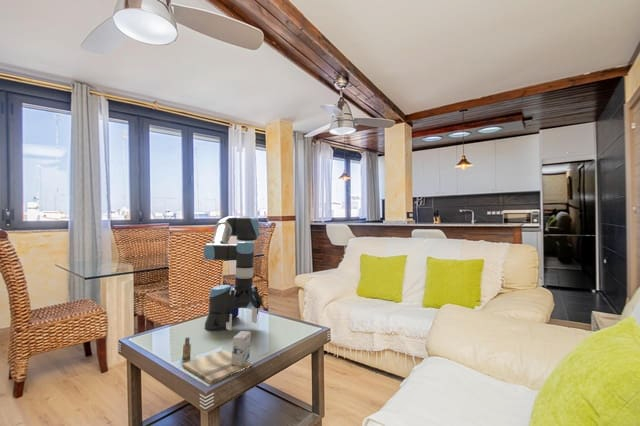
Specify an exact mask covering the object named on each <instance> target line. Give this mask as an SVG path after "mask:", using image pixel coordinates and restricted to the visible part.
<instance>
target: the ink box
mask: <svg viewBox="0 0 640 426" xmlns="http://www.w3.org/2000/svg"><path fill="white" fill-rule="evenodd" d="M251 337H252V332H251V331H244V330H240V331H239V332H238V333H237V334H236V335H234V336H233V337H232V349H231V351H232V353H231V354H232V362H231V364H233V365H238V366H242V365H243V364H244V363H245V362H246V361H248V360H249V359H250V353H251Z"/></svg>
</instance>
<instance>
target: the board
mask: <svg viewBox="0 0 640 426" xmlns="http://www.w3.org/2000/svg"><path fill="white" fill-rule="evenodd" d="M231 362H232V353H231V352H229V351H227V350H225V349H222V350H220V351H216V352H213V353H211V354H208V355H205V356H202V357H198V358H195V359H192V360H190V361H189V360H188V361H187V362H183V363H182V367H184V368H185V369H187V370H188V371H190V372H192V373H193V374H194V375H196V376H198V377H199V378H200V379H202V380H204V381H205V380H206V381H205V382H207V381H208V383H209V382H210V383H211V384H213V383H212V382H214V383H216V382H219V381H221V380H223V379H222V378H224V377H226V376H229V375H231V374H233V373H235V372H237V371H239V370H241V369H243V368H246V367H248V366H250V365H252V364H253V363H251V362H250V361H248V360H247V361H246V362H245V363H244V364H243V365H242V366H238V365H233V364H231ZM252 366H253V365H252ZM231 376H232V375H231ZM229 377H230V376H229ZM226 378H227V377H226ZM220 379H221V380H220ZM224 379H225V378H224ZM218 380H219V381H218ZM215 381H216V382H215ZM210 383H209V384H210Z"/></svg>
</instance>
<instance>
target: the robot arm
mask: <svg viewBox="0 0 640 426" xmlns="http://www.w3.org/2000/svg"><path fill="white" fill-rule="evenodd" d="M259 225H260V223H259V219H258V218H257V217H256V216H255V217H254V216H243V215H242V216H237V215H235V216H234V215H230V216H226V217H223V218H221V219H219V220H218V221H217V222H216V223H215V224H214V227H213V237H212V239H211V242H210V243H205V245H204V246H203V258H204V260H206V261H235V263H236V264H235V278H234V286H235V287H234V288H231V287H232V286H231V285H230V284H221V285H215V286H212V287H211V288H210V290H209V296H208V299H209V300H208V315H207V317H206V319H205V322H204V329H206V330H208V331H223V330H227V331H232V326H233V318H232V314H230V313H231V312H232V310H233V309H234V308H239V309H251V308H252V309H251V323H254V324H257V323H258V315H259V309H260V308H261V306H263V301H262V299H261V296H260V294H259V290H258V286H257V285H255V284H254V282H253V281H254V280H253V279H254V278H253V277H254V260H255V259H254V258H255V243H256V242H257V241H258V238H259V237H260V226H259ZM229 237H236V241H237V243H228V242H229Z"/></svg>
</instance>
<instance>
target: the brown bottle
mask: <svg viewBox="0 0 640 426" xmlns="http://www.w3.org/2000/svg"><path fill="white" fill-rule="evenodd" d="M184 339H185V340H184V343H183V345H182V360H184V361H186V360H190V359H191V350H192V348H191V347H192V344H191V343H190V340H191V338H190V337H188V336H186V337H185V338H184Z"/></svg>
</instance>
